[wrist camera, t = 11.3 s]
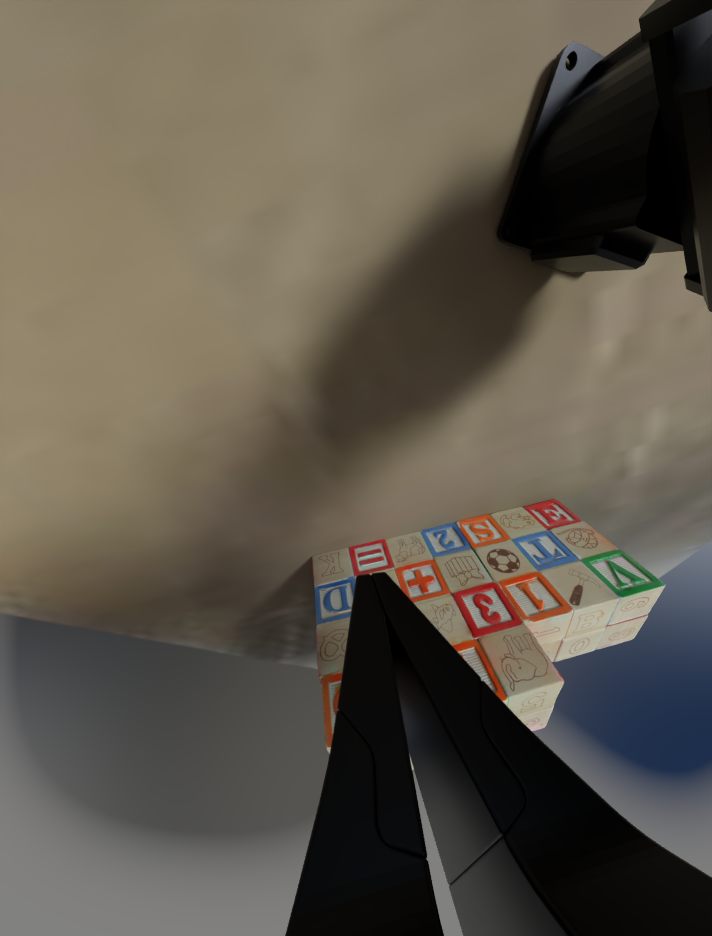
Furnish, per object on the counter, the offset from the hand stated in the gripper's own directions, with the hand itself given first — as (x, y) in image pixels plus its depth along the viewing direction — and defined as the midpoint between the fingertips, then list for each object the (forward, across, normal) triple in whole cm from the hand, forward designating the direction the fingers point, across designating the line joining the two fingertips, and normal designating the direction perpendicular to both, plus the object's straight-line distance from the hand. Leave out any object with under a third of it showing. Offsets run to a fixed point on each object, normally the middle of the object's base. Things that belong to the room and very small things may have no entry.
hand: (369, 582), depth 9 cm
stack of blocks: (+12, -10, +13) cm, 20 cm away
